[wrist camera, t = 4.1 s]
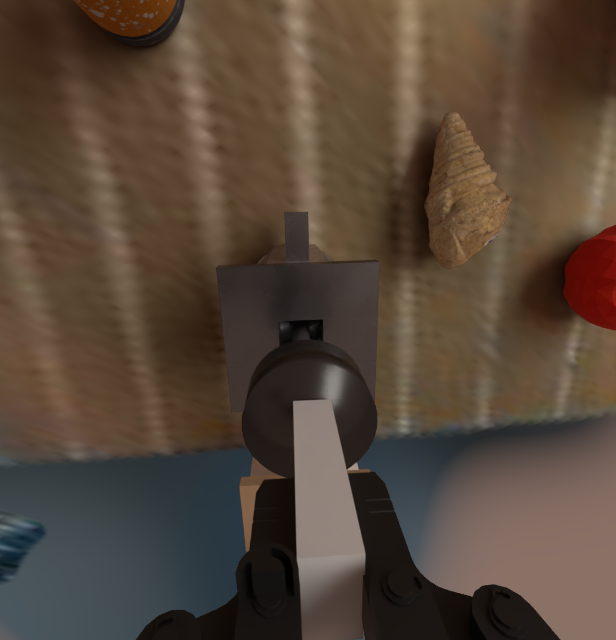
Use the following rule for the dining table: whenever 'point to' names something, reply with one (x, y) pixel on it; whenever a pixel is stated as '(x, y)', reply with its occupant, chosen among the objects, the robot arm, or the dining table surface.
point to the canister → (134, 18)
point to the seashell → (462, 196)
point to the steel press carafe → (296, 305)
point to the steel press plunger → (305, 397)
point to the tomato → (594, 279)
